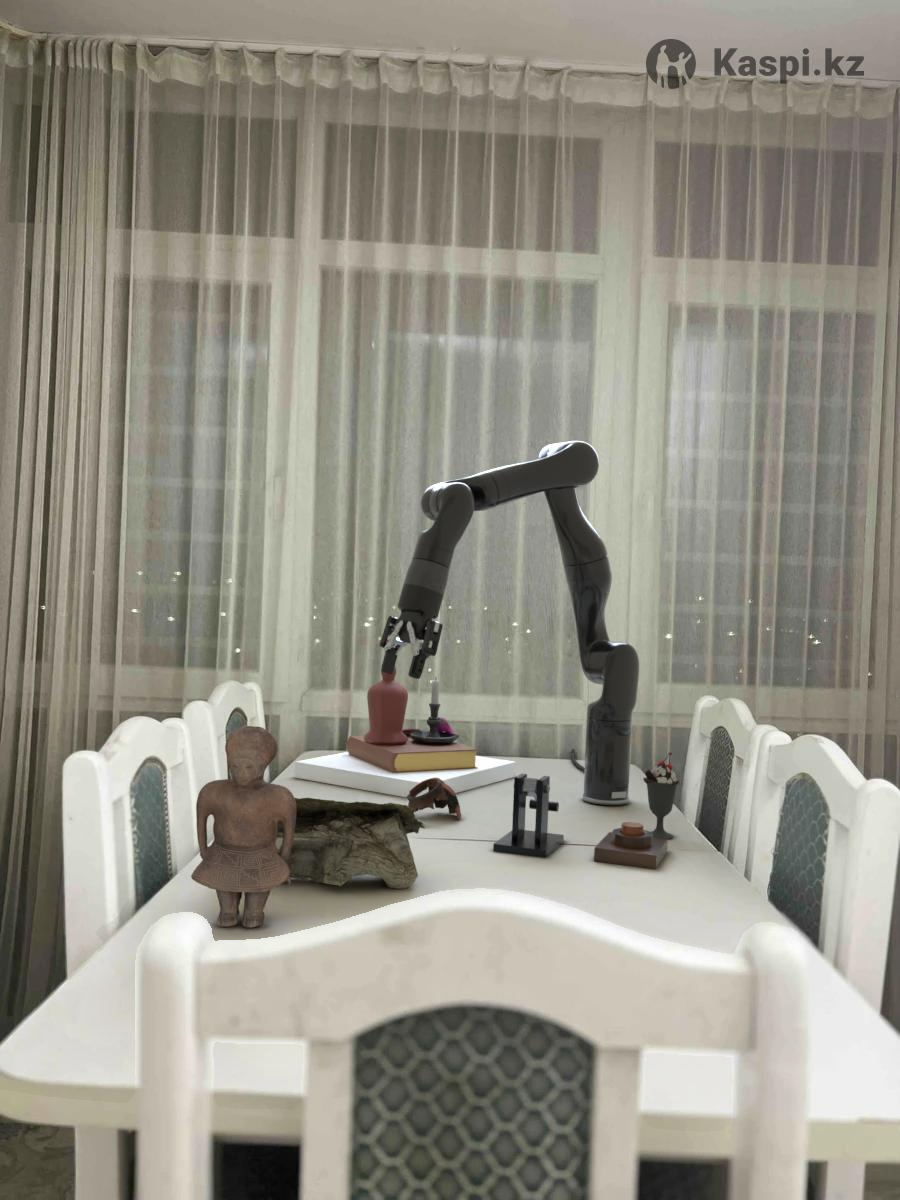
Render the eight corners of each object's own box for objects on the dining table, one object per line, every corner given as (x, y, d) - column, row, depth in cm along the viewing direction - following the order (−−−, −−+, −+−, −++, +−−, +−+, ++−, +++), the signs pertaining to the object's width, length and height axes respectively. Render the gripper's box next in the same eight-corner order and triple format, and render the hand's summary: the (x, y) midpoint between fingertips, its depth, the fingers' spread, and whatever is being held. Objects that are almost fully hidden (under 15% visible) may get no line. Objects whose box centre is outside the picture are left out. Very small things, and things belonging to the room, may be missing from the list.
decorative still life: (522, 774, 245) (528, 642, 244) (427, 801, 211) (433, 648, 210) (399, 755, 263) (404, 633, 263) (294, 777, 230) (300, 636, 229)
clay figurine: (180, 933, 128) (187, 729, 127) (199, 908, 138) (206, 718, 137) (286, 938, 128) (294, 733, 127) (298, 912, 138) (305, 722, 137)
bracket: (513, 835, 185) (516, 768, 185) (563, 841, 182) (566, 774, 182) (493, 850, 174) (496, 779, 174) (545, 857, 171) (548, 785, 171)
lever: (530, 811, 187) (532, 798, 188) (557, 814, 186) (559, 801, 187) (514, 790, 177) (516, 776, 178) (543, 793, 175) (545, 779, 176)
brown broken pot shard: (463, 826, 192) (444, 788, 190) (417, 845, 194) (397, 807, 192) (467, 797, 204) (449, 761, 202) (424, 814, 205) (405, 779, 204)
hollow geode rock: (230, 910, 152) (214, 855, 141) (243, 834, 161) (229, 776, 150) (423, 912, 152) (422, 857, 141) (425, 836, 161) (425, 778, 150)
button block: (608, 844, 181) (609, 821, 181) (667, 852, 178) (668, 828, 178) (593, 861, 170) (594, 836, 170) (655, 869, 167) (657, 844, 167)
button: (623, 831, 176) (623, 820, 176) (644, 833, 175) (645, 823, 175) (619, 835, 173) (619, 825, 173) (641, 838, 172) (641, 827, 172)
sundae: (680, 834, 191) (683, 752, 191) (675, 842, 185) (679, 757, 185) (643, 829, 194) (647, 748, 193) (638, 837, 187) (641, 754, 187)
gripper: (464, 596, 185) (439, 685, 183) (416, 593, 196) (393, 677, 194) (431, 583, 181) (406, 674, 178) (385, 580, 192) (361, 666, 190)
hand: (399, 675), depth 186 cm, fingers open, 8 cm apart
